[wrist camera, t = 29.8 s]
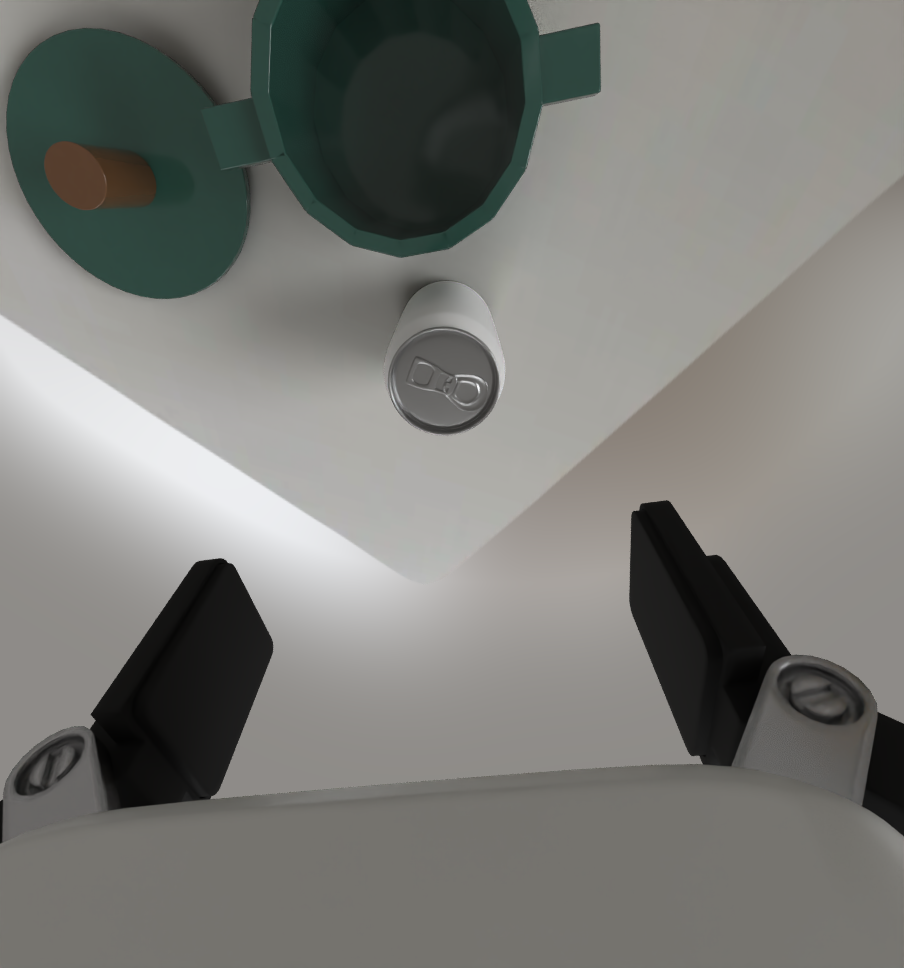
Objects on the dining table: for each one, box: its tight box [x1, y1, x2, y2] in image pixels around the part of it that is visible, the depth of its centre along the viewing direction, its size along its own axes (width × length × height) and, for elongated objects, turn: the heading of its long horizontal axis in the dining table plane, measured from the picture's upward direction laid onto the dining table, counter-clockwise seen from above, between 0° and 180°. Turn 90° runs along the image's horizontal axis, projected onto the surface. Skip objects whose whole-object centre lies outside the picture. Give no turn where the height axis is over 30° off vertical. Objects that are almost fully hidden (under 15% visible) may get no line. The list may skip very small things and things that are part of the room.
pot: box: [201, 0, 601, 258], centre depth 25 cm, size 13×18×8 cm
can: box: [384, 281, 505, 436], centre depth 30 cm, size 6×6×12 cm
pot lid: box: [6, 28, 250, 299], centre depth 28 cm, size 14×14×6 cm
